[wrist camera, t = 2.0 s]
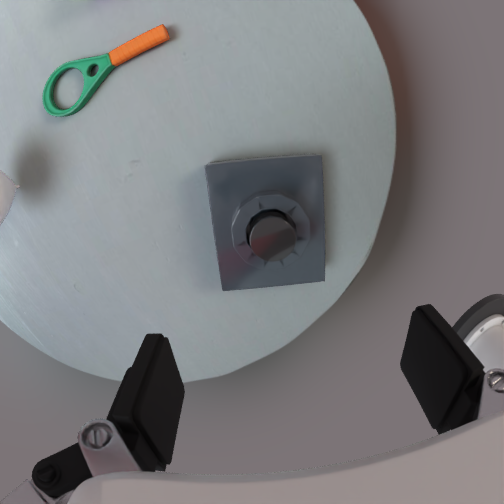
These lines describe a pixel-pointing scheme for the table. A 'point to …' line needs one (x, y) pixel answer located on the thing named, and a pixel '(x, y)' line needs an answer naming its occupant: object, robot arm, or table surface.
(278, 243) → the button cap
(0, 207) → the spinning top
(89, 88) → the magnifying glass
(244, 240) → the button housing
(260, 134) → the table surface
